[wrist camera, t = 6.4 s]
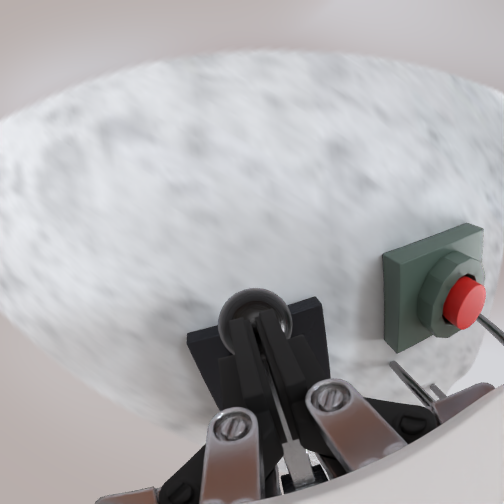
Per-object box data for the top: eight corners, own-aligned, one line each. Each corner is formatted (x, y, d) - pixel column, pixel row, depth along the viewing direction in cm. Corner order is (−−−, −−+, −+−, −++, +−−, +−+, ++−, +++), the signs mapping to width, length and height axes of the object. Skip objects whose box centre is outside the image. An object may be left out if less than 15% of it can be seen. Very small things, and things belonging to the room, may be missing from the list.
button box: (466, 222, 19) (499, 234, 16) (461, 299, 22) (487, 317, 18) (382, 253, 19) (416, 273, 15) (383, 340, 21) (408, 367, 18)
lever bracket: (186, 333, 18) (183, 517, 6) (315, 295, 19) (427, 442, 7) (232, 425, 22) (254, 552, 10) (328, 397, 22) (387, 511, 10)
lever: (214, 301, 14) (203, 297, 11) (276, 283, 14) (284, 274, 11) (282, 505, 11) (289, 537, 8) (335, 489, 11) (351, 518, 8)
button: (473, 269, 17) (488, 277, 15) (468, 308, 18) (481, 318, 16) (444, 285, 16) (460, 295, 15) (439, 326, 17) (453, 337, 16)
